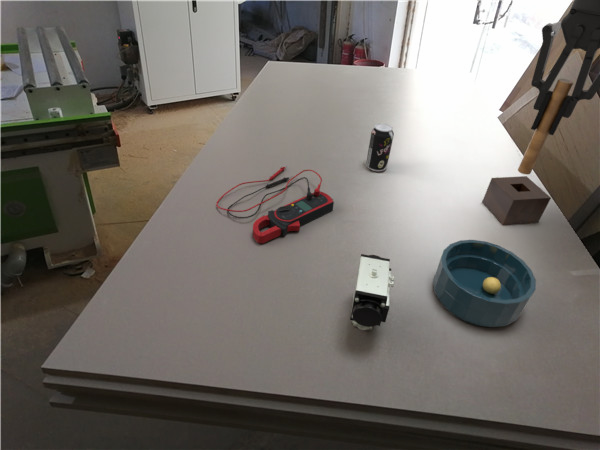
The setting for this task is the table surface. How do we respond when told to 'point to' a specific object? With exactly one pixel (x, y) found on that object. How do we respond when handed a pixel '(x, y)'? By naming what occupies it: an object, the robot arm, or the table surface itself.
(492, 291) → the bead
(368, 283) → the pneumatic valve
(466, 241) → the bowl
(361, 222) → the table surface
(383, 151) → the beverage can
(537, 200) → the holder
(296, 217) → the digital clamp meter
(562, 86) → the stirring stick
